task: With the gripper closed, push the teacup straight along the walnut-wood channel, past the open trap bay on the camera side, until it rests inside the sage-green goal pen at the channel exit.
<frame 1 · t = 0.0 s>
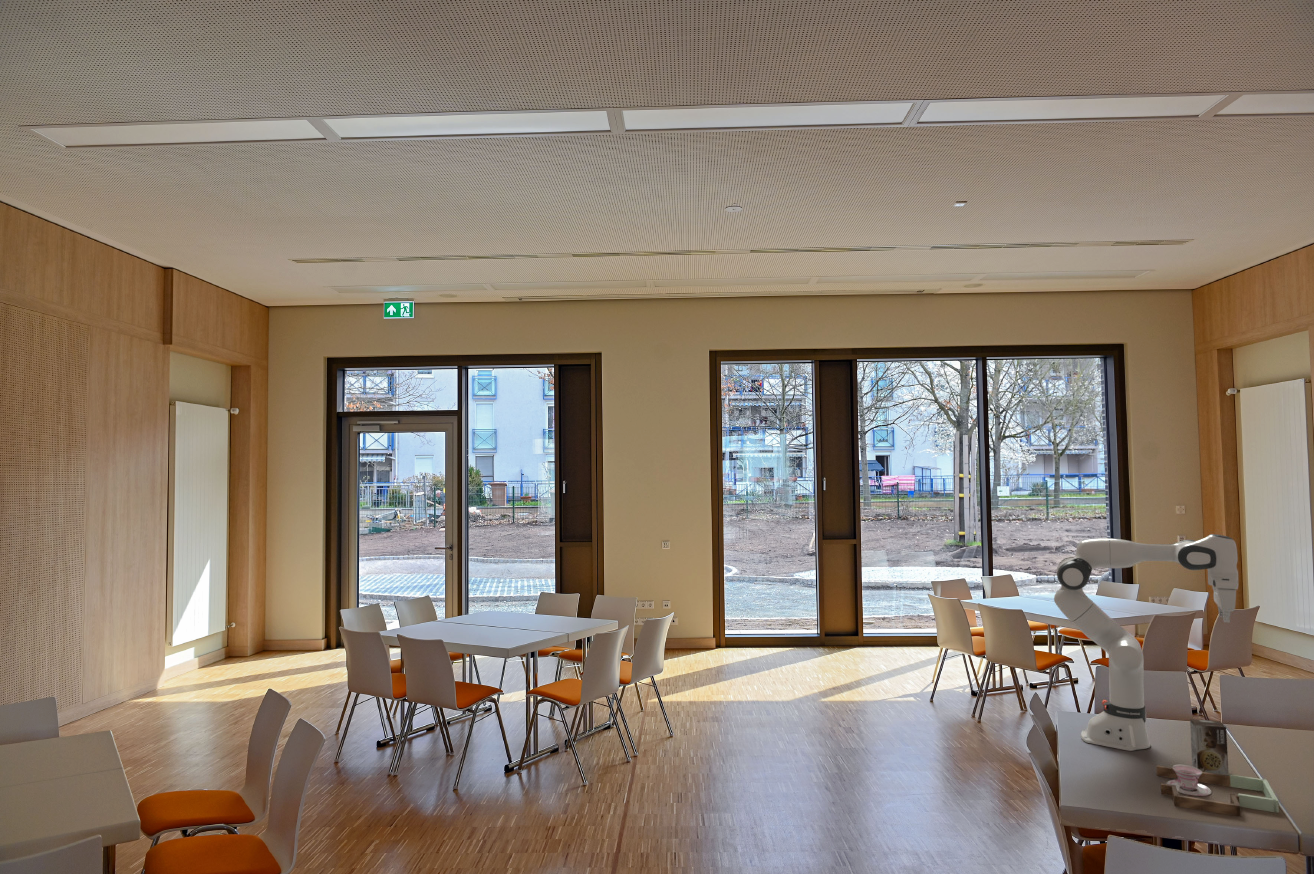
hand: (1224, 619, 281), 48 cm above the table, fingers open, 8 cm apart
channel: (1196, 789, 253), on the table
coffee box: (1209, 771, 268), on the table
goal pen: (1252, 798, 246), on the table
teacup: (1188, 789, 254), on the table
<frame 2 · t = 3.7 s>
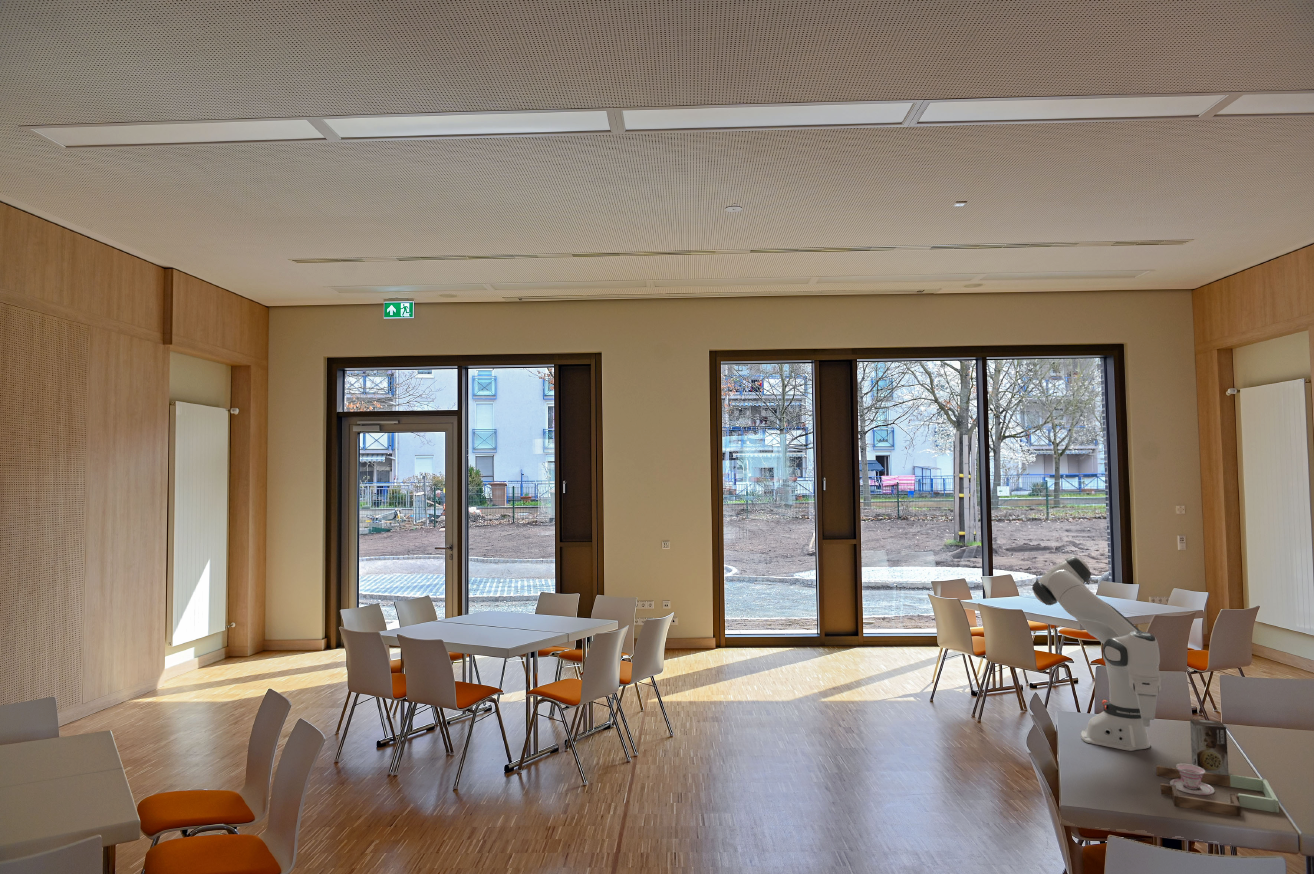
hand: (1146, 725, 259), 18 cm above the table, fingers closed
teacup: (1191, 788, 255), on the table
everything else where it was.
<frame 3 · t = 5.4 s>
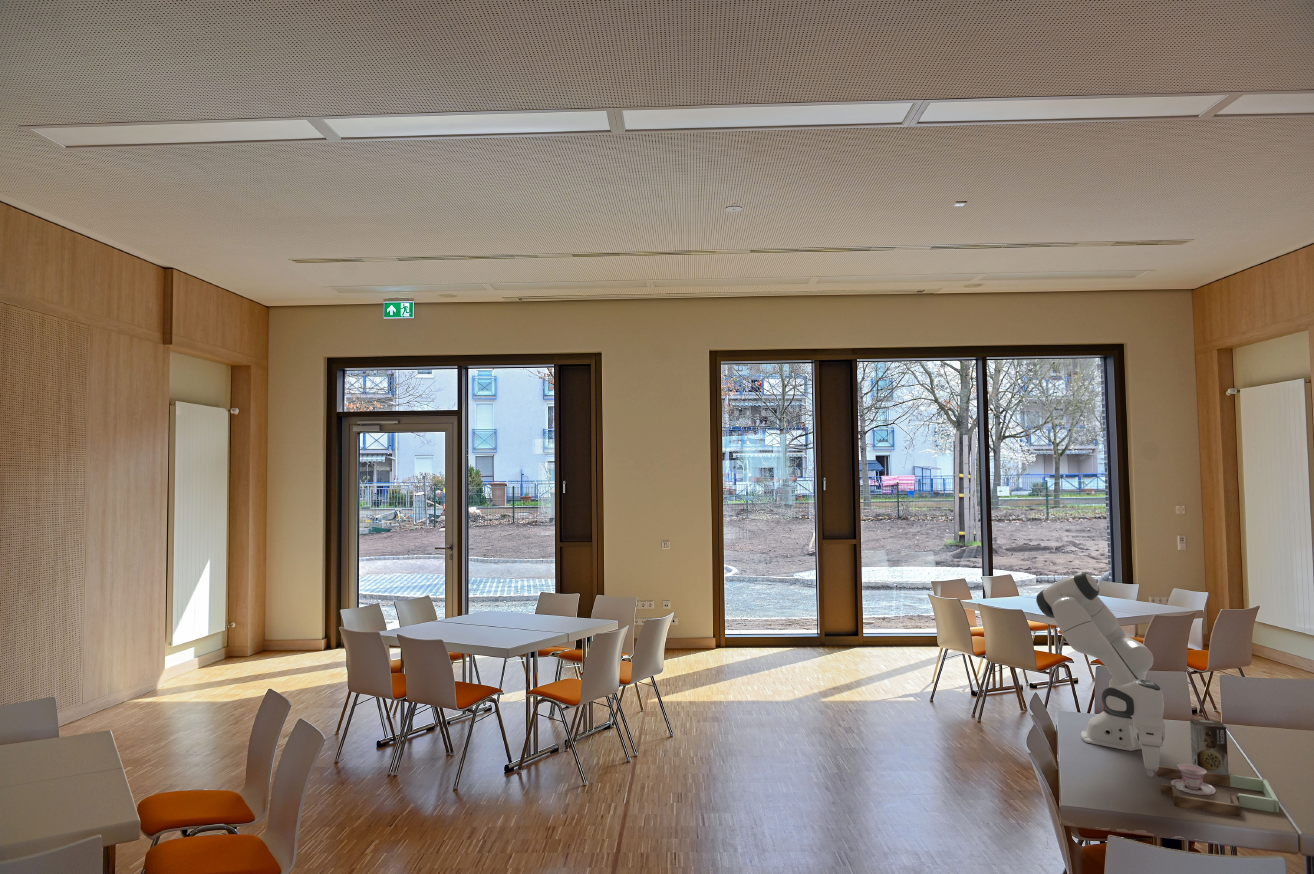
hand: (1150, 774, 259), 3 cm above the table, fingers closed
nothing on the table moved.
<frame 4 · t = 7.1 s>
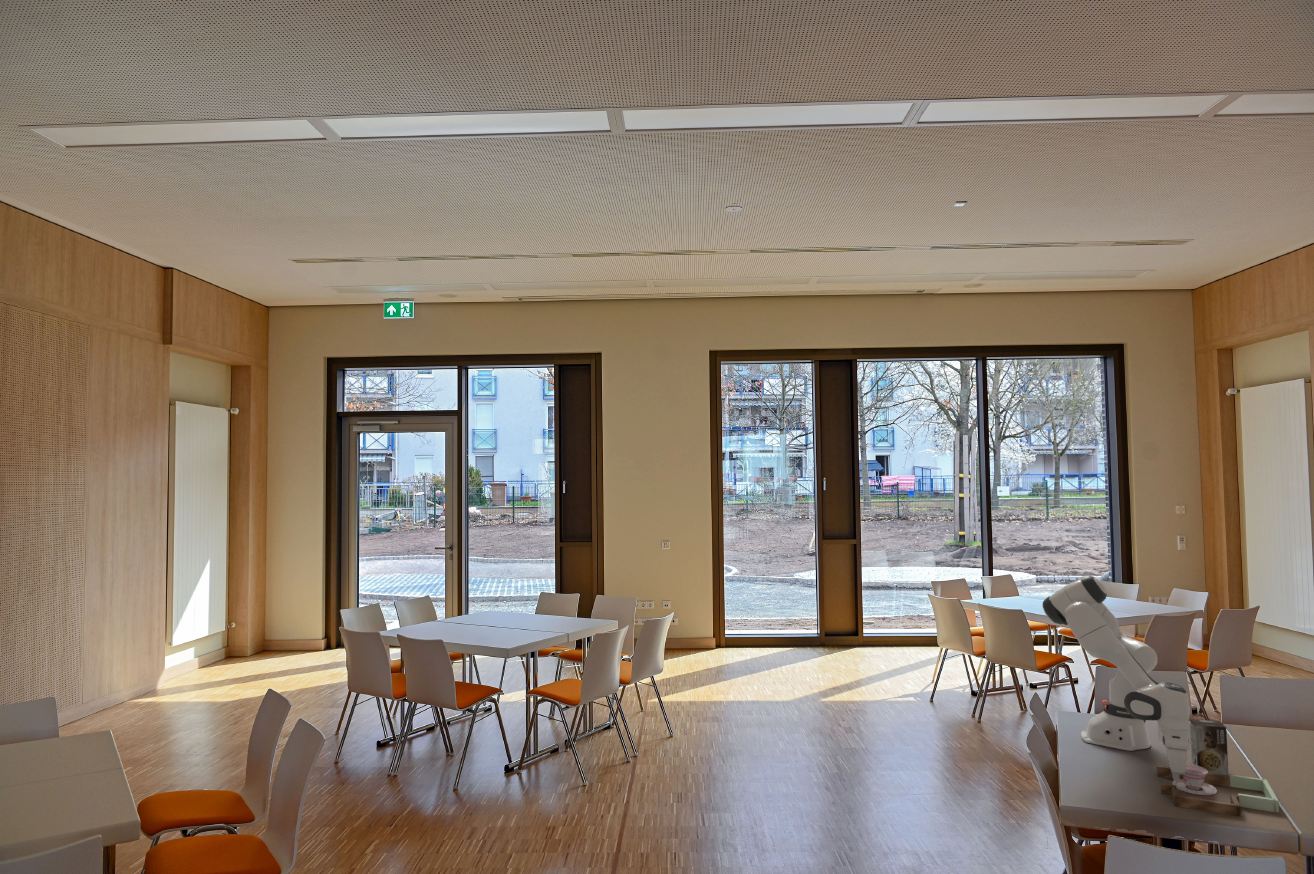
hand: (1175, 778, 255), 3 cm above the table, fingers closed
teacup: (1194, 788, 254), on the table, touching gripper
everything else where it was.
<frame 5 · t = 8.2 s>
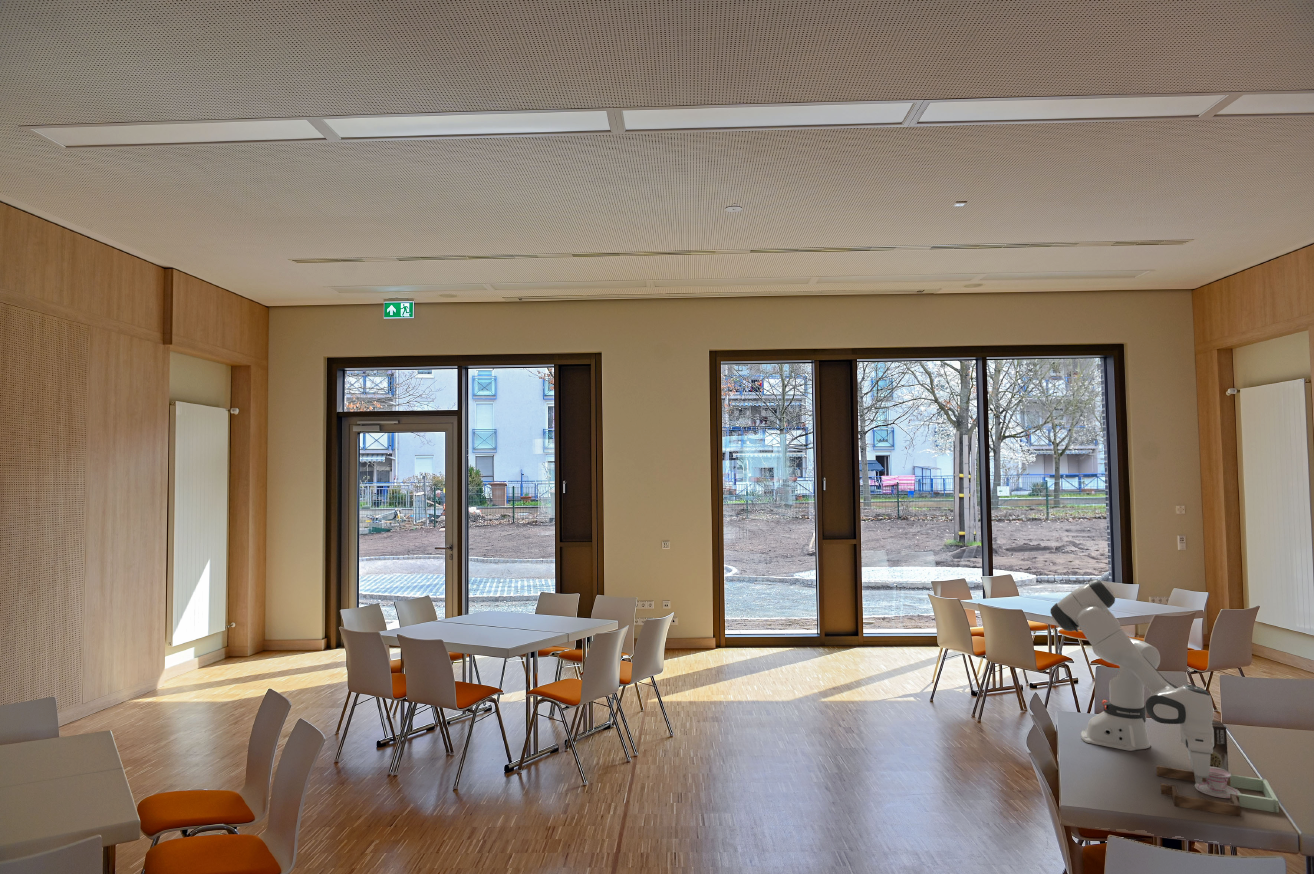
hand: (1198, 781, 252), 3 cm above the table, fingers closed
teacup: (1217, 791, 251), on the table, touching gripper
everything else where it was.
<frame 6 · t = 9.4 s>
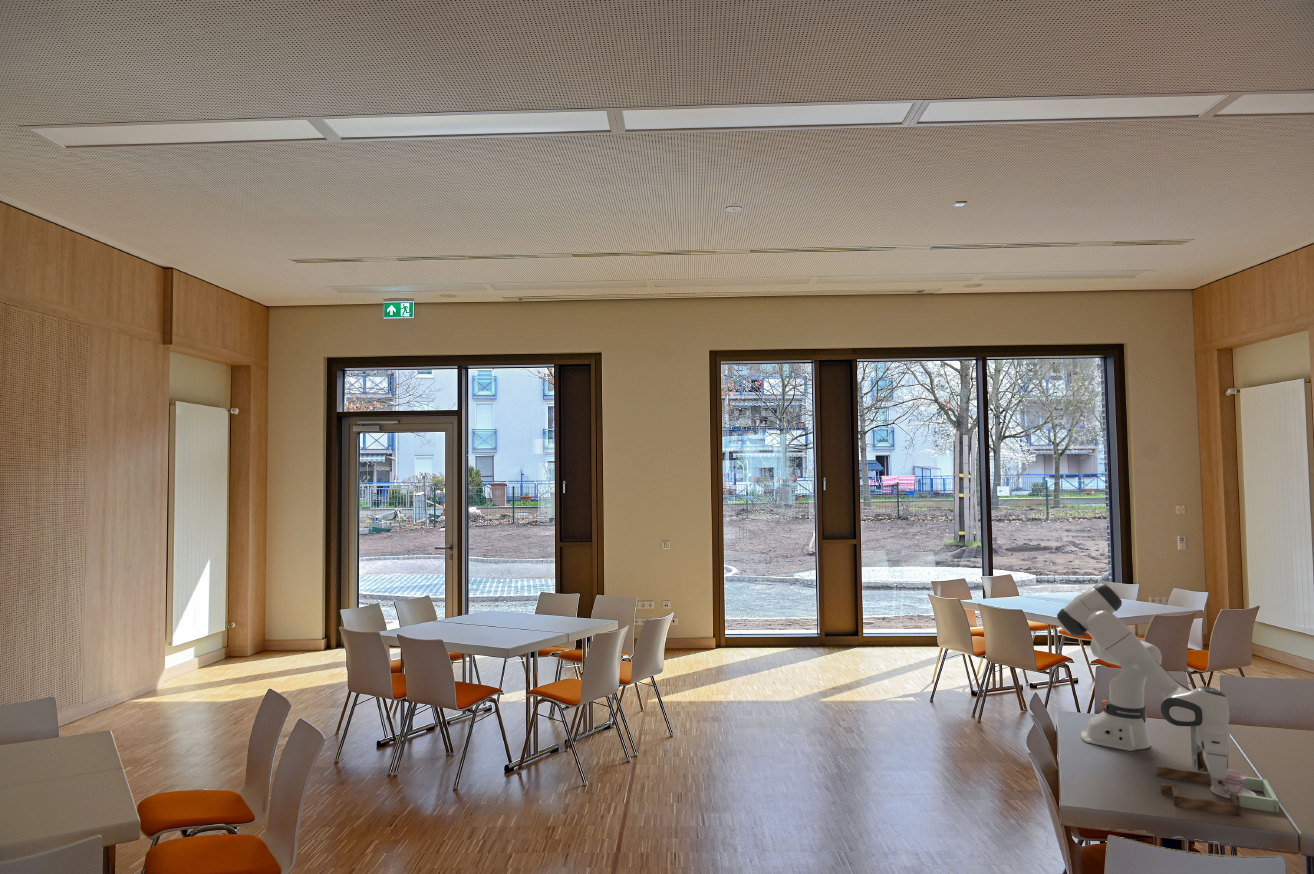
hand: (1214, 784, 251), 3 cm above the table, fingers closed
teacup: (1233, 794, 250), on the table, touching gripper
everything else where it was.
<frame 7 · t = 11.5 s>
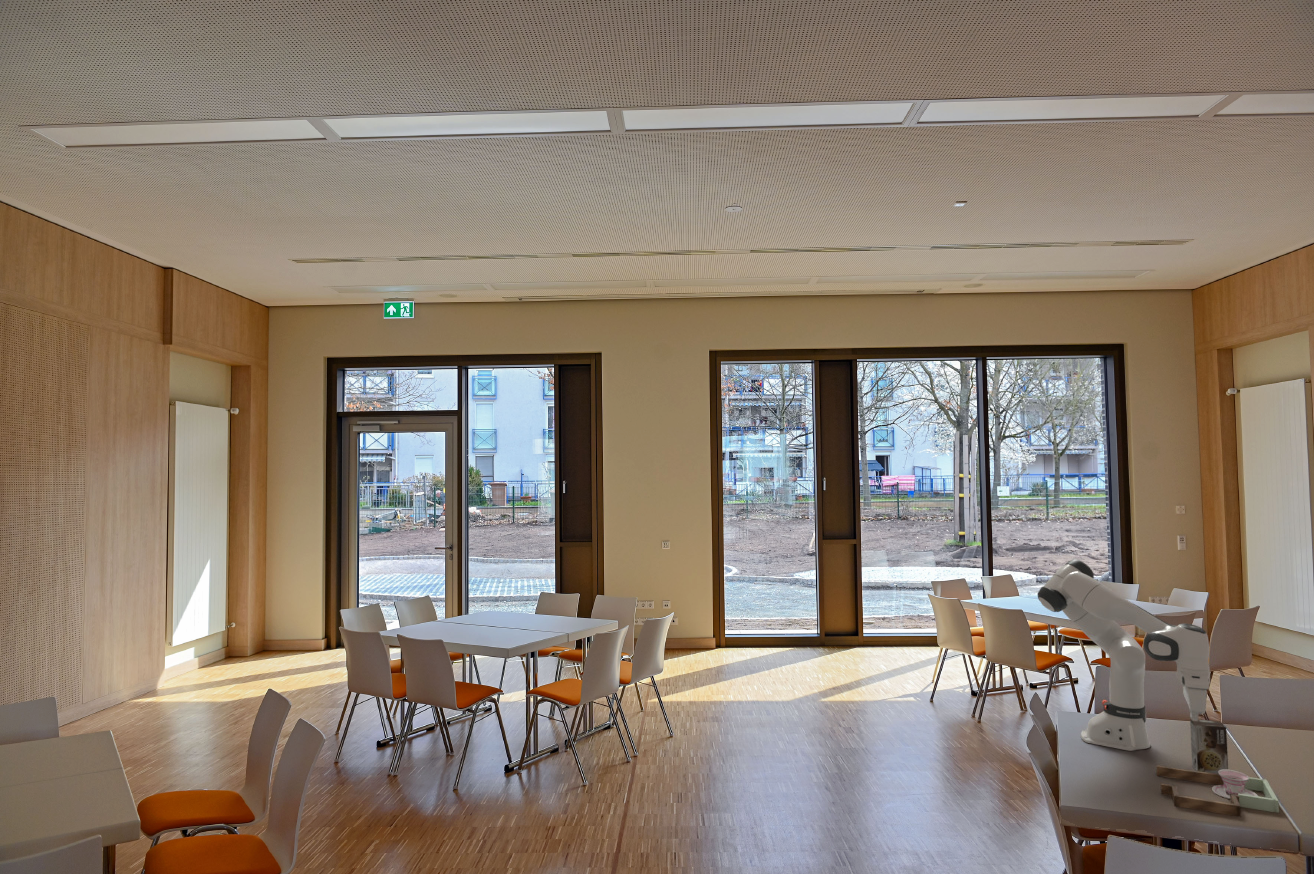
hand: (1194, 719, 254), 22 cm above the table, fingers closed
teacup: (1235, 795, 249), on the table
everything else where it was.
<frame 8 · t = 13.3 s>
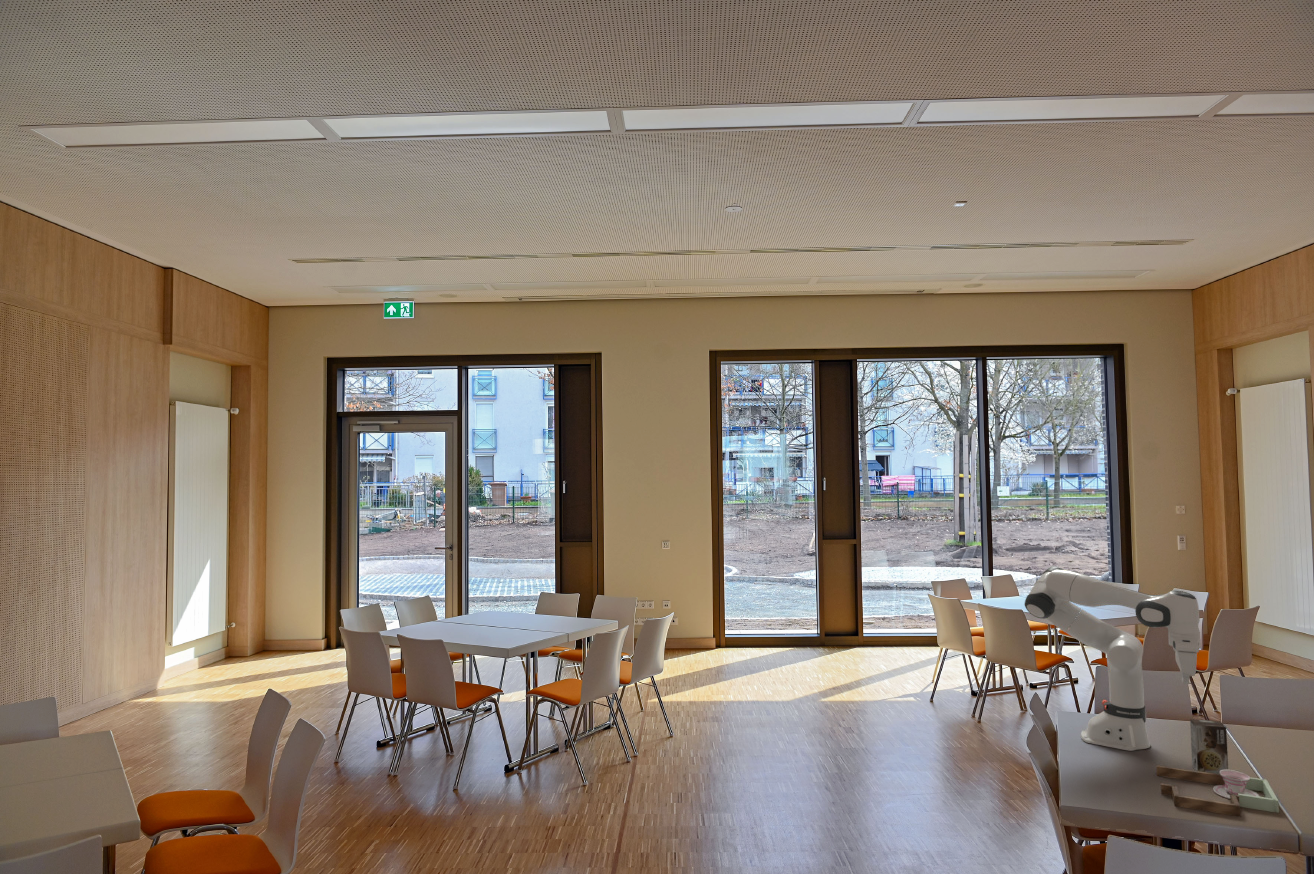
hand: (1185, 682, 263), 31 cm above the table, fingers closed
nothing on the table moved.
at the end: teacup inside the target area on the goal pen (3.6 cm from its centre), point 0.0 cm above the goal pen's base; teacup tilted 0° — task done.
